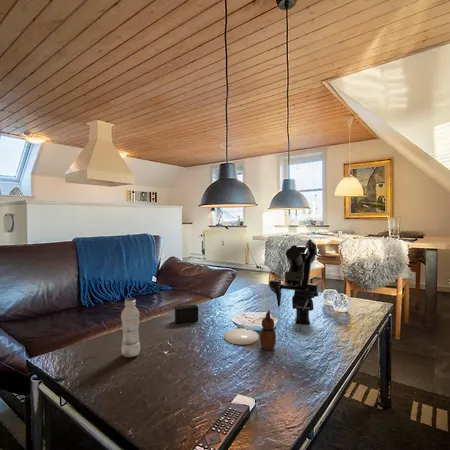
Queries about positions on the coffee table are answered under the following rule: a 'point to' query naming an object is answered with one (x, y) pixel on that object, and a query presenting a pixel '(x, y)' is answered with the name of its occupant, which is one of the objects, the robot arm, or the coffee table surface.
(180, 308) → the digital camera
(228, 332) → the ceramic plate
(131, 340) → the plastic bottle
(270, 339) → the wooden figurine
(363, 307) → the coffee table surface
